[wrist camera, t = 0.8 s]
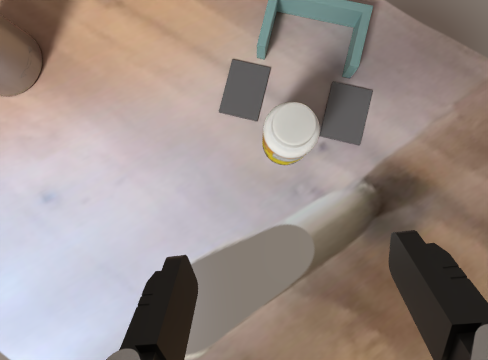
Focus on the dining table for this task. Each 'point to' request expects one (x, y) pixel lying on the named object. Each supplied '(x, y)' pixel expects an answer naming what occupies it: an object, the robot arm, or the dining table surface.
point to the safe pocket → (324, 9)
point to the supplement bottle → (290, 133)
